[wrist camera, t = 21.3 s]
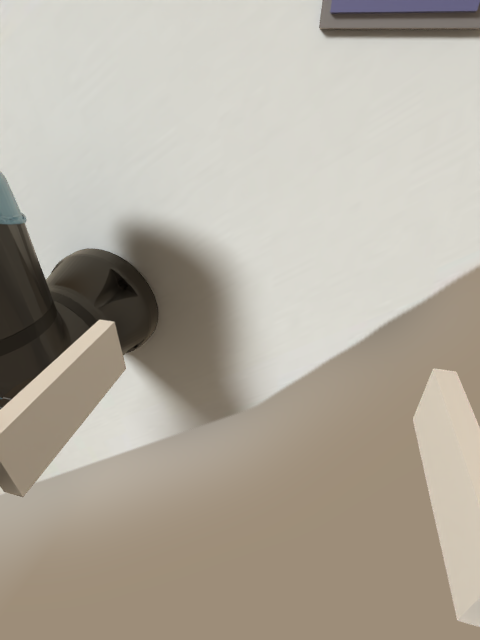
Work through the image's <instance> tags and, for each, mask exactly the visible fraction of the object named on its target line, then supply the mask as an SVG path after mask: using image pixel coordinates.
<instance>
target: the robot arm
mask: <svg viewBox="0 0 480 640" xmlns="http://www.w3.org/2000/svg"><path fill="white" fill-rule="evenodd" d="M25 222H26V217H25V216H24V214H22V213H21V212H20V209H19V207H18V205H17V203H16V200H15V198H14V196H13V193H12V191H11V189H10V186H9V184H8V182H7V180H6V178H5V176H4V175H3V174H2V173H1V172H0V486H1V488H2V489H3V491H4V492H7V493H10V494H14V495H17V496H21V497H24V496H25V494H26V493H27V492H28V490H29V489H30V488H31V487H32V486H33V484H34V483H35V482H36V481H37V479H38V478H39V477H40V476H41V474H42V473H43V472H44V471H45V469H46V468H47V467H48V466H49V464H50V463H51V462H52V461H53V459H54V458H55V457H56V456H57V454H58V453H59V452H60V451H61V449H62V448H63V447H64V446H65V444H66V443H67V442H68V441H69V439H70V438H71V437H72V436H73V434H74V433H75V432H76V431H77V429H78V428H79V427H80V426H81V424H82V423H83V422H84V421H85V419H86V418H87V417H88V416H89V414H90V413H91V412H92V411H93V409H94V408H95V407H96V406H97V404H98V403H99V402H100V401H101V399H102V398H103V397H104V396H105V394H106V393H107V392H108V391H109V389H110V388H111V387H112V386H113V384H114V383H115V382H116V381H117V379H118V378H119V377H120V376H121V374H122V373H123V372H124V371H125V369H126V366H125V362H124V358H123V355H124V354H126V353H128V352H131V351H133V350H135V349H137V348H139V347H140V346H141V345H142V344H143V343H144V342H145V341H146V340H147V339H148V338H149V337H150V336H151V334H152V333H153V332H154V330H155V328H156V325H157V320H158V310H157V304H156V301H155V298H154V295H153V293H152V291H151V289H150V287H149V285H148V284H147V282H146V281H145V280H144V278H143V277H142V276H141V275H140V273H139V272H138V271H137V270H136V269H135V268H134V267H132V266H131V265H130V264H129V263H127V262H126V261H125V260H123V259H122V258H120V257H118V256H116V255H114V254H112V253H110V252H107V251H104V250H99V249H83V250H79V251H77V252H75V253H73V254H71V255H69V256H67V257H65V258H64V259H62V260H61V261H60V262H59V263H58V264H57V265H56V266H55V268H54V269H53V271H52V273H51V275H50V276H49V277H48V278H47V279H45V277H44V274H43V272H42V269H41V267H40V264H39V261H38V258H37V256H36V253H35V250H34V247H33V245H32V242H31V239H30V236H29V234H28V231H27V228H26V226H25ZM413 422H414V427H415V431H416V436H417V440H418V445H419V449H420V453H421V458H422V463H423V467H424V472H425V476H426V481H427V486H428V490H429V494H430V499H431V504H432V508H433V513H434V517H435V521H436V526H437V531H438V535H439V539H440V544H441V549H442V553H443V558H444V562H445V567H446V571H447V576H448V581H449V585H450V590H451V594H452V599H453V603H454V608H455V612H456V616H457V620H458V621H461V622H465V623H468V624H471V625H475V626H478V627H480V427H479V425H478V422H477V420H476V418H475V415H474V413H473V411H472V408H471V406H470V404H469V401H468V399H467V396H466V394H465V391H464V389H463V387H462V384H461V382H460V379H459V377H458V375H457V372H455V371H448V370H440V369H433V370H432V373H431V375H430V378H429V380H428V383H427V385H426V388H425V390H424V393H423V395H422V398H421V400H420V403H419V405H418V408H417V410H416V413H415V415H414V418H413Z"/></svg>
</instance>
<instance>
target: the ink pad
mask: <svg viewBox="0 0 480 640" xmlns="http://www.w3.org/2000/svg"><path fill="white" fill-rule="evenodd" d="M319 28H320V29H480V0H323V2H322V10H321V18H320V26H319Z"/></svg>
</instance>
